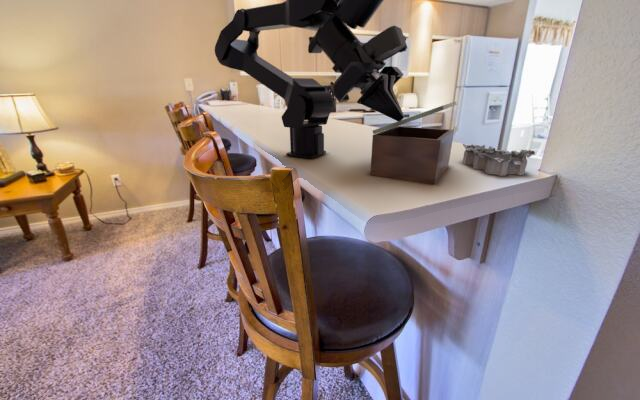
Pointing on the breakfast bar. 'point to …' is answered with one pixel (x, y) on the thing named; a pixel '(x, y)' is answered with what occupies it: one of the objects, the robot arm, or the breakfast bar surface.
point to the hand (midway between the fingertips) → (401, 119)
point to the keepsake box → (411, 153)
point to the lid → (415, 117)
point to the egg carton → (496, 160)
